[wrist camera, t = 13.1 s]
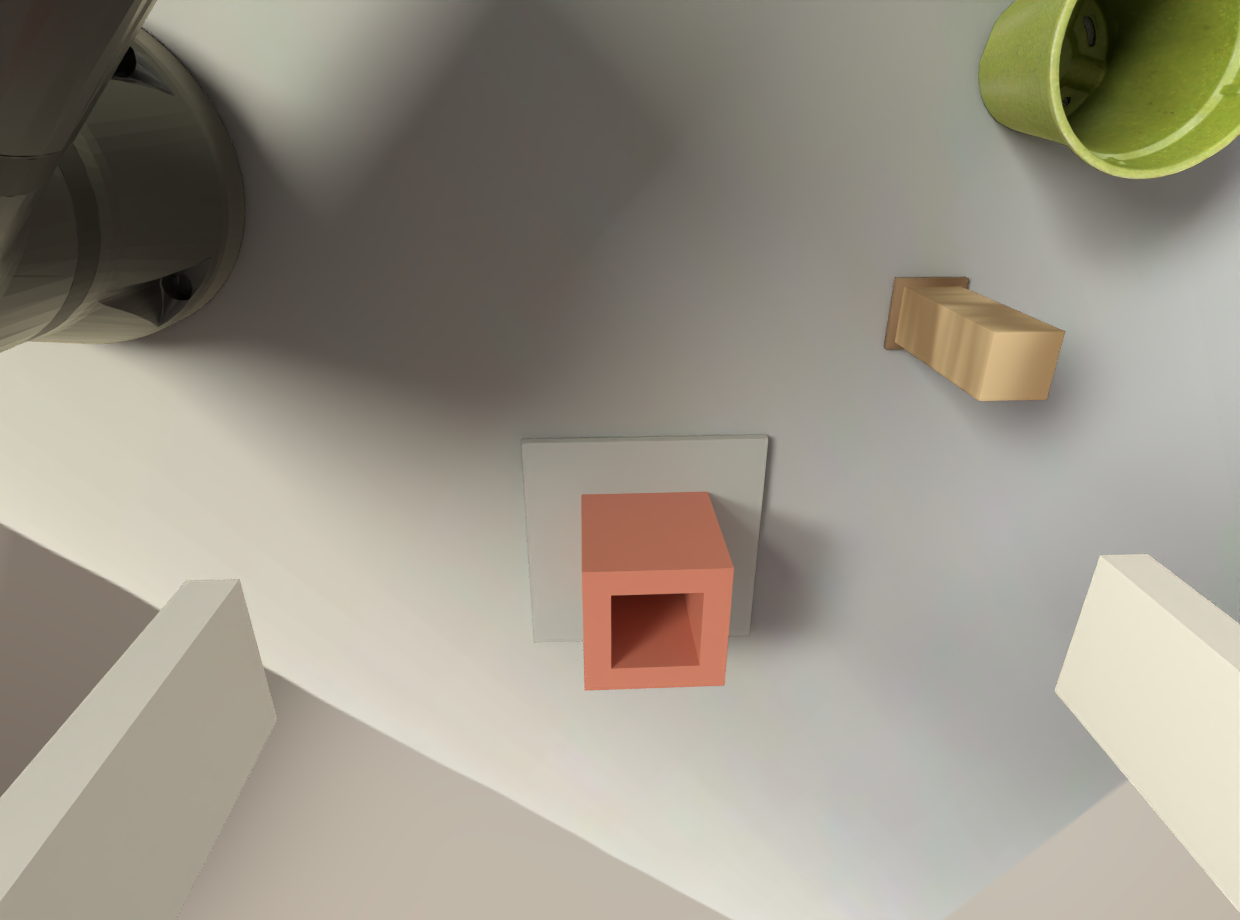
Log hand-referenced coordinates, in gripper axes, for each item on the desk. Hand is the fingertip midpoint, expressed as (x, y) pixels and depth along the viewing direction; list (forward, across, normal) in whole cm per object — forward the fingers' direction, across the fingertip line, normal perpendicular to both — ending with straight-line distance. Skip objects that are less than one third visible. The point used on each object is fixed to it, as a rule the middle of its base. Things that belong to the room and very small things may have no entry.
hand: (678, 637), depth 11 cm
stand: (+29, +17, -2) cm, 33 cm away
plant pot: (+29, +20, +10) cm, 37 cm away
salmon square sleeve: (+28, +2, -16) cm, 32 cm away
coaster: (+29, +2, -16) cm, 33 cm away
